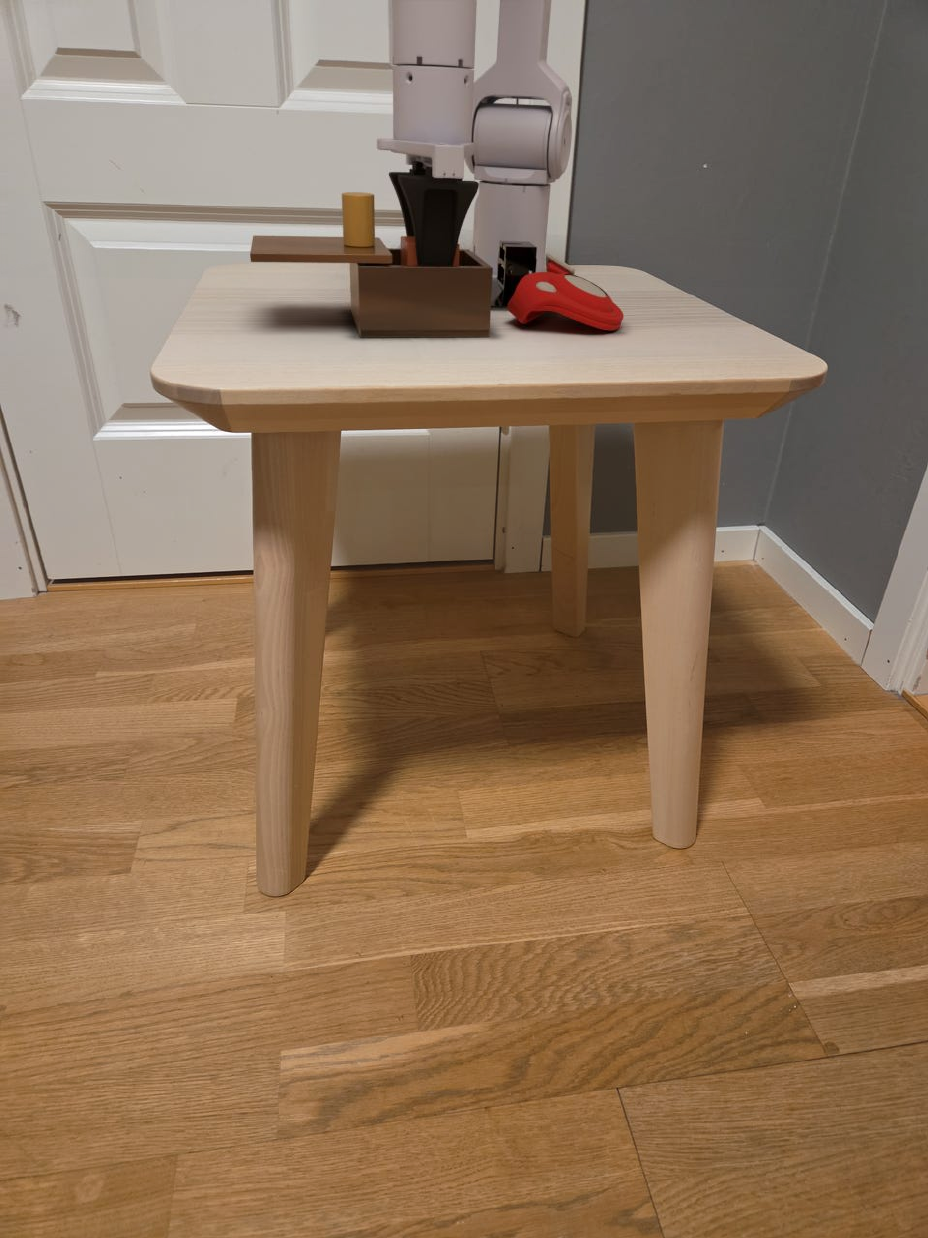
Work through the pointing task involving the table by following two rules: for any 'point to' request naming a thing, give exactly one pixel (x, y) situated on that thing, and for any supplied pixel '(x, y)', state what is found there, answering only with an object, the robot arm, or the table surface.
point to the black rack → (511, 270)
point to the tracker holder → (564, 297)
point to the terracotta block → (410, 252)
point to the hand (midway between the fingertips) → (430, 275)
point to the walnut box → (422, 298)
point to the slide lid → (330, 239)
